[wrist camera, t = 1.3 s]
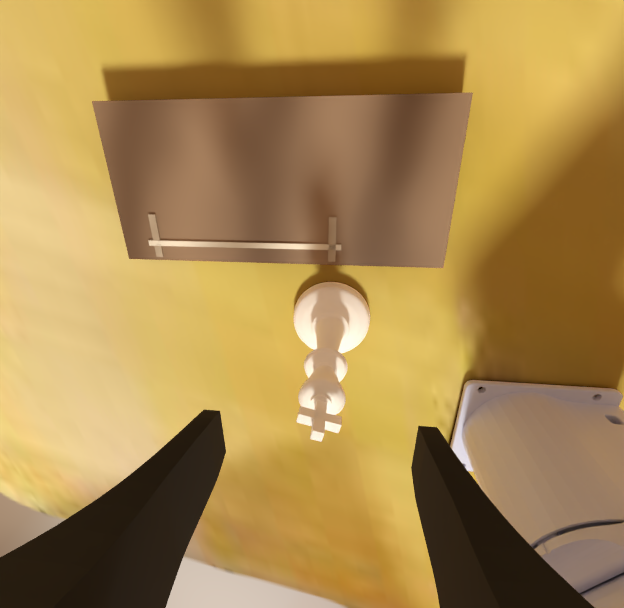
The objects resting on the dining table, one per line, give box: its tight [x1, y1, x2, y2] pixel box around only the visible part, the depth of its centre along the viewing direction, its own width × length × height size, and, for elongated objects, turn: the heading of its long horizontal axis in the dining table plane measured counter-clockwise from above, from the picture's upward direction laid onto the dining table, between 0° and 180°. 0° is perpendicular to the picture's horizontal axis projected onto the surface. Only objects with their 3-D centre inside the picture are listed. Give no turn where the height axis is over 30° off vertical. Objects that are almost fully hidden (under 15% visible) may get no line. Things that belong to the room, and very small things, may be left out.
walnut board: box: [92, 93, 473, 268], centre depth 17 cm, size 18×8×2 cm, turn 90°
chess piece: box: [294, 282, 370, 442], centre depth 16 cm, size 5×5×10 cm
